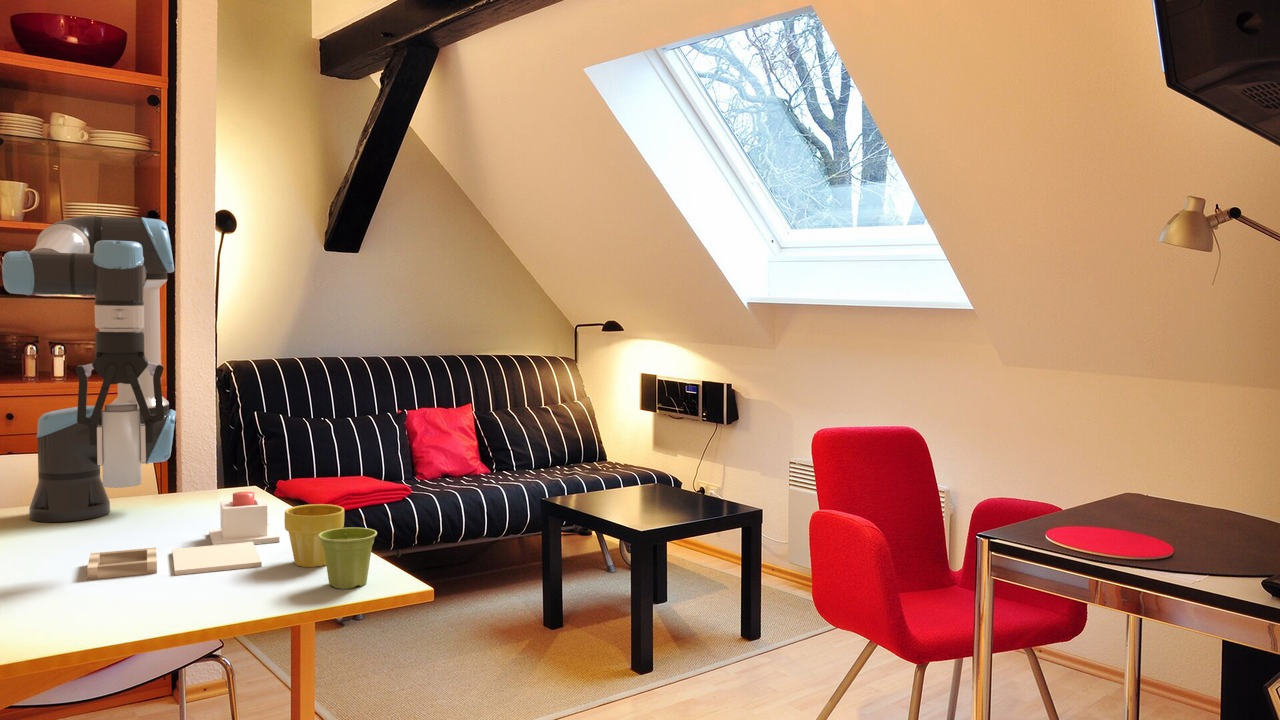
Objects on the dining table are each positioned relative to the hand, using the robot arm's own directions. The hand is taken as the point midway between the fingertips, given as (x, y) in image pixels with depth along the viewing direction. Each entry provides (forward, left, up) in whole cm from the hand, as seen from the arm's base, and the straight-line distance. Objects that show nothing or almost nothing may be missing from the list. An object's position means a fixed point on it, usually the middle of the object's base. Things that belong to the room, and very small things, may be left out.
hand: (122, 462), depth 171 cm
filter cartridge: (0, 0, -4) cm, 4 cm away
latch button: (-15, +21, -15) cm, 30 cm away
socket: (0, 0, -19) cm, 19 cm away
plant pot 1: (+9, +31, -19) cm, 37 cm away
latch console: (-15, +21, -19) cm, 32 cm away
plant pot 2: (+25, +34, -19) cm, 46 cm away
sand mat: (0, +15, -19) cm, 24 cm away
